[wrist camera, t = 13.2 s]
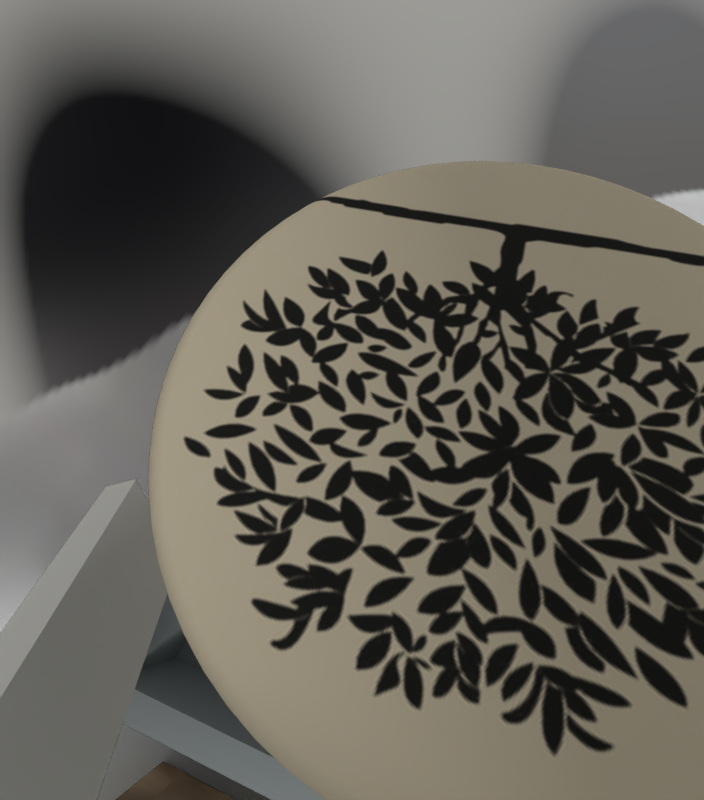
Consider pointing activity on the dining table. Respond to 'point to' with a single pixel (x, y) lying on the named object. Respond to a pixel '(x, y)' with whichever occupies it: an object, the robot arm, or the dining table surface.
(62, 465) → the dining table surface
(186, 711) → the slate bin
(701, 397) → the travel mug
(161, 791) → the walnut frame
